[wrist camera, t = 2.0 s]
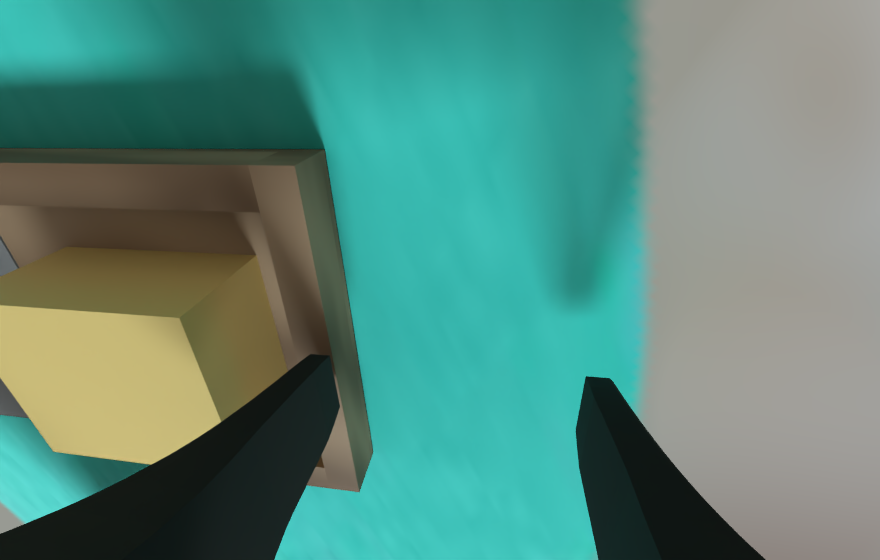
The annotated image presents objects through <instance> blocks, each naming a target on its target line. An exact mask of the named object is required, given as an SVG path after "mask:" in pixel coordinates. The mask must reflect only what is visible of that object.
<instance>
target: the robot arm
mask: <svg viewBox="0 0 880 560" xmlns="http://www.w3.org/2000/svg"><path fill="white" fill-rule="evenodd" d="M339 408H340V404H339V399H338V394H337V389H336V384H335V379H334V374H333V369H332V364H331V359H330V356H329V355H317V354H310V355H308V356H307V357H306V358H304V359H303V360H302V361H300V362H299V363H298V364H296V365H295V366H294V367H293V368H291V369H290V370H289V371H288V372H286V373H285V374H284V375H283V376H281V377H280V378H279V379H278V380H276V381H275V382H274V383H273V384H271V385H270V386H269V387H268V388H266V389H265V390H264V391H262V392H261V393H260V394H259V395H257V396H256V397H255V398H253V399H252V400H251V401H249V402H248V403H247V404H245V405H244V406H242V407H241V408H240V409H238V410H237V411H236V412H234V413H233V414H231V415H230V416H229V417H227V418H226V419H224V420H223V421H222V422H220V423H219V424H217V425H216V426H214V427H213V428H211V429H210V430H209V431H207V432H205V433H204V434H202V435H201V436H199V437H198V438H196V439H195V440H193V441H191V442H190V443H188V444H186V445H185V446H183V447H182V448H180V449H178V450H177V451H175V452H173V453H171V454H170V455H168V456H166V457H164V458H163V459H161V460H159V461H157V462H155V463H153V464H152V465H150V466H148V467H146V468H144V469H142V470H141V471H139V472H137V473H135V474H133V475H131V476H130V477H128V478H126V479H124V480H122V481H120V482H118V483H116V484H114V485H112V486H110V487H108V488H106V489H104V490H102V491H99V492H97V493H95V494H93V495H91V496H89V497H87V498H84V499H82V500H80V501H78V502H76V503H73V504H71V505H69V506H67V507H64V508H62V509H60V510H58V511H55V512H53V513H50V514H48V515H45V516H43V517H41V518H38V519H36V520H33V521H31V522H29V523H26V524H24V525H21V526H19V527H17V528H14V529H12V530H9V531H7V532H4V533H1V534H0V560H274V559H275V556H276V553H277V551H278V548H279V546H280V543H281V540H282V538H283V535H284V532H285V530H286V528H287V525H288V523H289V521H290V519H291V516H292V514H293V512H294V510H295V508H296V506H297V504H298V502H299V500H300V498H301V496H302V494H303V492H304V490H305V488H306V485H307V483H308V481H309V479H310V477H311V475H312V473H313V471H314V469H315V467H316V465H317V463H318V461H319V459H320V457H321V455H322V453H323V451H324V449H325V446H326V444H327V442H328V440H329V438H330V435H331V432H332V429H333V426H334V424H335V421H336V417H337V414H338V411H339ZM576 439H577V450H578V460H579V469H580V474H581V479H582V483H583V488H584V493H585V498H586V503H587V507H588V512H589V517H590V521H591V526H592V531H593V536H594V540H595V545H596V550H597V554H598V560H765V559H764V558H763V557H762V556H761V555H760V554H759V553H758V552H757V551H756V550H754V549H753V548H752V547H751V546H750V545H749V544H748V543H747V542H746V541H745V540H744V539H743V538H742V537H741V536H739V535H738V533H737V532H736V531H734V529H733V528H732V527H731V526H729V524H727V523H726V521H725V520H724V519H723V518H722V517H721V516H720V515H719V514H718V513H717V512H716V511H715V510H714V509H713V508H712V507H711V506H710V505H709V504H708V503H707V502H706V501H705V500H704V498H703V497H702V496H701V495H700V494H699V493H698V492H697V491H696V490H695V488H694V487H693V486H692V485H691V484H690V483H689V482H688V480H687V479H686V478H685V477H684V476H683V475H682V473H681V472H680V471H679V470H678V469H677V468H676V467H675V465H674V464H673V463H672V462H671V460H670V459H669V458H668V457H667V455H666V454H665V453H664V452H663V450H662V449H661V448H660V447H659V445H658V444H657V443H656V441H655V440H654V439H653V437H652V436H651V435H650V434H649V432H648V431H647V430H646V428H645V427H644V426H643V424H642V423H641V422H640V420H639V419H638V417H637V416H636V415H635V413H634V412H633V410H632V409H631V408H630V406H629V405H628V403H627V402H626V400H625V399H624V397H623V396H622V394H621V393H620V391H619V390H618V388H617V387H616V385H615V384H614V382H613V381H612V380H611V379H610V378H599V377H587V376H586V378H585V384H584V389H583V394H582V400H581V405H580V410H579V416H578V421H577V426H576Z"/></svg>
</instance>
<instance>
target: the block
mask: <svg viewBox="0 0 880 560" xmlns="http://www.w3.org/2000/svg"><path fill="white" fill-rule="evenodd" d="M286 372H288V370H287V366H286V363H285V359H284V355H283V352H282V348H281V344H280V340H279V337H278V333H277V329H276V326H275V322H274V318H273V315H272V311H271V307H270V304H269V300H268V296H267V293H266V289H265V285H264V281H263V278H262V274H261V270H260V267H259V263H258V259H257V256H256V255H238V254H216V253H194V252H171V251H149V250H127V249H105V248H82V247H65V248H63V249H61V250H58V251H56V252H54V253H52V254H50V255H47V256H45V257H43V258H41V259H38V260H36V261H34V262H32V263H30V264H27V265H25V266H23V267H21V268H18V269H16V270H14V271H12V272H9V273H7V274H5V275H3V276H1V277H0V378H1V379H2V381H3V382H4V384H5V385H6V386H7V388H8V389H9V390H10V392H11V393H12V395H13V396H14V397H15V399H16V400H17V402H18V403H19V404H20V406H21V407H22V409H23V410H24V411H25V413H26V414H27V415H28V417H29V418H30V420H31V421H32V422H33V424H34V425H35V427H36V428H37V429H38V431H39V432H40V434H41V435H42V436H43V438H44V439H45V440H46V442H47V443H48V445H49V446H50V447H51V449H52V450H53V452H60V453H67V454H75V455H82V456H90V457H98V458H105V459H113V460H120V461H128V462H136V463H143V464H151V465H152V464H153V463H155V462H157V461H159V460H161V459H163V458H164V457H166V456H168V455H170V454H171V453H173V452H175V451H177V450H178V449H180V448H182V447H183V446H185V445H186V444H188V443H190V442H191V441H193V440H195V439H196V438H198V437H199V436H201V435H202V434H204V433H205V432H207V431H209V430H210V429H211V428H213V427H214V426H216V425H217V424H219V423H220V422H222V421H223V420H224V419H226V418H227V417H229V416H230V415H231V414H233V413H234V412H236V411H237V410H238V409H240V408H241V407H242V406H244V405H245V404H247V403H248V402H249V401H251V400H252V399H253V398H255V397H256V396H257V395H259V394H260V393H261V392H262V391H264V390H265V389H266V388H268V387H269V386H270V385H271V384H273V383H274V382H275V381H276V380H278V379H279V378H280V377H281V376H283V375H284V374H285V373H286Z"/></svg>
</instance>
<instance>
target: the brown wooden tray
mask: <svg viewBox="0 0 880 560" xmlns="http://www.w3.org/2000/svg"><path fill="white" fill-rule="evenodd" d="M0 236H1V237H2V239H3V241H4V242H5V244H6V246H7V247H8V249H9V251H10V252H11V254H12V256H13V258H14V259H15V261H16V263H17V264H18V266H19V268H21V267H23V266H25V265H27V264H30V263H32V262H34V261H36V260H38V259H41V258H43V257H45V256H47V255H50V254H52V253H54V252H56V251H58V250H61V249H63V248H65V247H82V248H105V249H127V250H149V251H171V252H194V253H216V254H238V255H256V256H257V259H258V263H259V267H260V270H261V274H262V278H263V281H264V285H265V289H266V293H267V296H268V300H269V304H270V307H271V311H272V315H273V318H274V322H275V326H276V329H277V333H278V337H279V340H280V344H281V348H282V352H283V355H284V359H285V363H286V366H287V370H288V371H289V370H290V369H291V368H293V367H294V366H295V365H296V364H298V363H299V362H300V361H302V360H303V359H304V358H306V357H307V356H308V355H310V354H317V355H329V356H330V359H331V364H332V369H333V374H334V379H335V384H336V389H337V394H338V399H339V404H340V408H339V411H338V414H337V417H336V421H335V424H334V426H333V429H332V432H331V435H330V438H329V440H328V442H327V444H326V446H325V449H324V451H323V453H322V455H321V457H320V459H319V461H318V463H317V465H316V467H315V469H314V471H313V473H312V475H311V477H310V479H309V481H308V483H307V485H309V486H317V487H324V488H332V489H339V490H347V491H355V492H360V489H361V486H362V483H363V480H364V477H365V474H366V471H367V469H368V466H369V463H370V460H371V457H372V454H373V449H372V442H371V436H370V430H369V424H368V418H367V411H366V405H365V399H364V393H363V386H362V380H361V374H360V368H359V361H358V355H357V349H356V343H355V336H354V330H353V324H352V318H351V311H350V305H349V299H348V293H347V287H346V280H345V274H344V268H343V262H342V255H341V249H340V243H339V237H338V230H337V224H336V218H335V212H334V205H333V199H332V193H331V187H330V180H329V174H328V168H327V162H326V155H325V149H83V148H0ZM88 457H90V456H88ZM96 458H98V457H96ZM104 459H105V458H104ZM111 460H113V459H111ZM119 461H120V460H119ZM126 462H128V461H126ZM134 463H136V462H134ZM142 464H143V463H142ZM149 465H151V464H149Z"/></svg>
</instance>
